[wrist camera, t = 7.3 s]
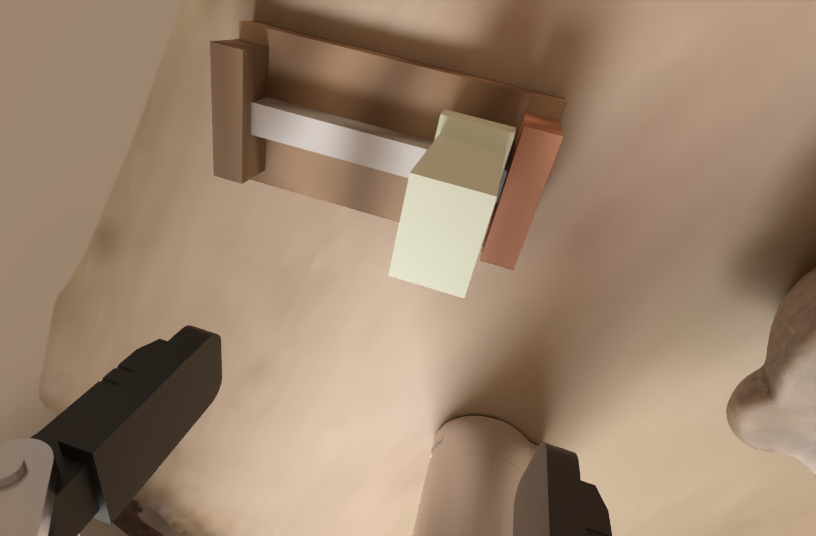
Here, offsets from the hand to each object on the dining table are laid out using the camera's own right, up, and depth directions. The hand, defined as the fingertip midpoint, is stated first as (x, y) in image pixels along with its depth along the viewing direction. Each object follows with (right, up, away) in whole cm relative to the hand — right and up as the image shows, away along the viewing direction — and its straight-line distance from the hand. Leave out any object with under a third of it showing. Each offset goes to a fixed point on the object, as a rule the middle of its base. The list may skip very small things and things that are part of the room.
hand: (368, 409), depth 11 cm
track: (0, +12, +19) cm, 23 cm away
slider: (+5, +9, +17) cm, 20 cm away
